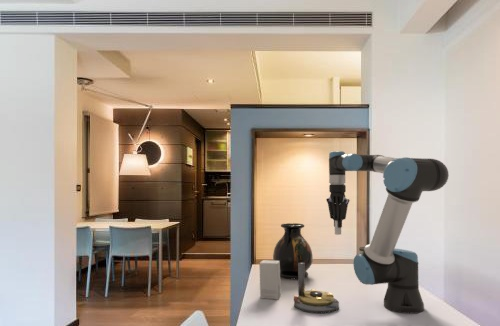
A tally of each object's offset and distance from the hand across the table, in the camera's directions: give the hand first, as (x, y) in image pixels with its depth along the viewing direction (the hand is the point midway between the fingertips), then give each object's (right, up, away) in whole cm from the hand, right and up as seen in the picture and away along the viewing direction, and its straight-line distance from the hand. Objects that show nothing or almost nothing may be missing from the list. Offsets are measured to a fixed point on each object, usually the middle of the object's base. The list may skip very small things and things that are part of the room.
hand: (338, 234), depth 175 cm
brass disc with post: (-14, -23, -22) cm, 35 cm away
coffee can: (+25, -29, +33) cm, 51 cm away
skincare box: (-32, -26, -10) cm, 43 cm away
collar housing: (-14, -25, -22) cm, 36 cm away
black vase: (-18, -28, +27) cm, 43 cm away
